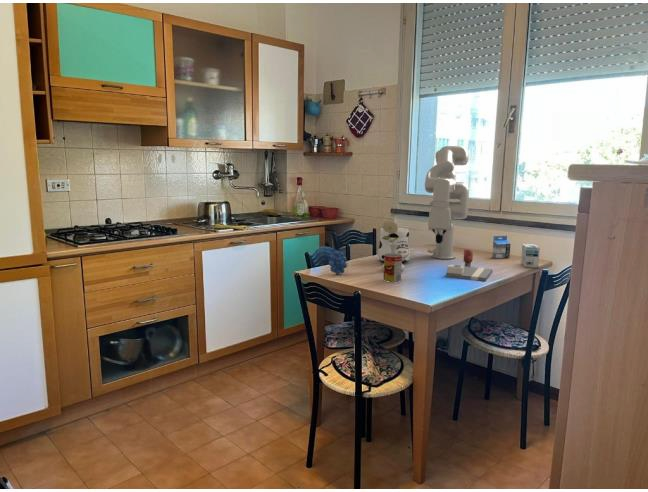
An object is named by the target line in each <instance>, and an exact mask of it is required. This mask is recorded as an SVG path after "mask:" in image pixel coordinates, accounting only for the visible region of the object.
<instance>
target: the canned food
mask: <svg viewBox="0 0 648 492" xmlns="http://www.w3.org/2000/svg"><path fill="white" fill-rule="evenodd" d="M383 264H384V269H383V281H384V280H385V281H389V282H398V283H400V282H399V281H401V282H402V271H401V266H402V264H403V263H402V255H401V254H396V253H388V254H384V262H383ZM385 281H384V282H385ZM389 282H388V283H389Z"/></svg>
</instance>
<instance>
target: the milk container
mask: <svg viewBox="0 0 648 492" xmlns="http://www.w3.org/2000/svg"><path fill="white" fill-rule="evenodd" d="M397 230H398V231H397V232H395V233H392V234H391V233H390V234H389V233H388V232H385V231H384V229H383V227H381V228H380V231H379V246H378V249H377V257H378V260H379V261H380V262H383V263H384V254H388V253H391V247H390V245H389V243H392V242H393V243H399V245H398V246H397V249H396V254H401V255H402V264H403V263H407V262H408V261H409V260H410V257H411V250H410V230H409V228H406V227H399V226H398V229H397ZM384 236H387V237H389V236H390V238H389V240H384V239H382V238H383V237H384ZM398 237H399V238H398ZM395 238H398V239H397V240H394V241H392V242H391V240H393V239H395ZM390 239H391V240H390Z"/></svg>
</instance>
